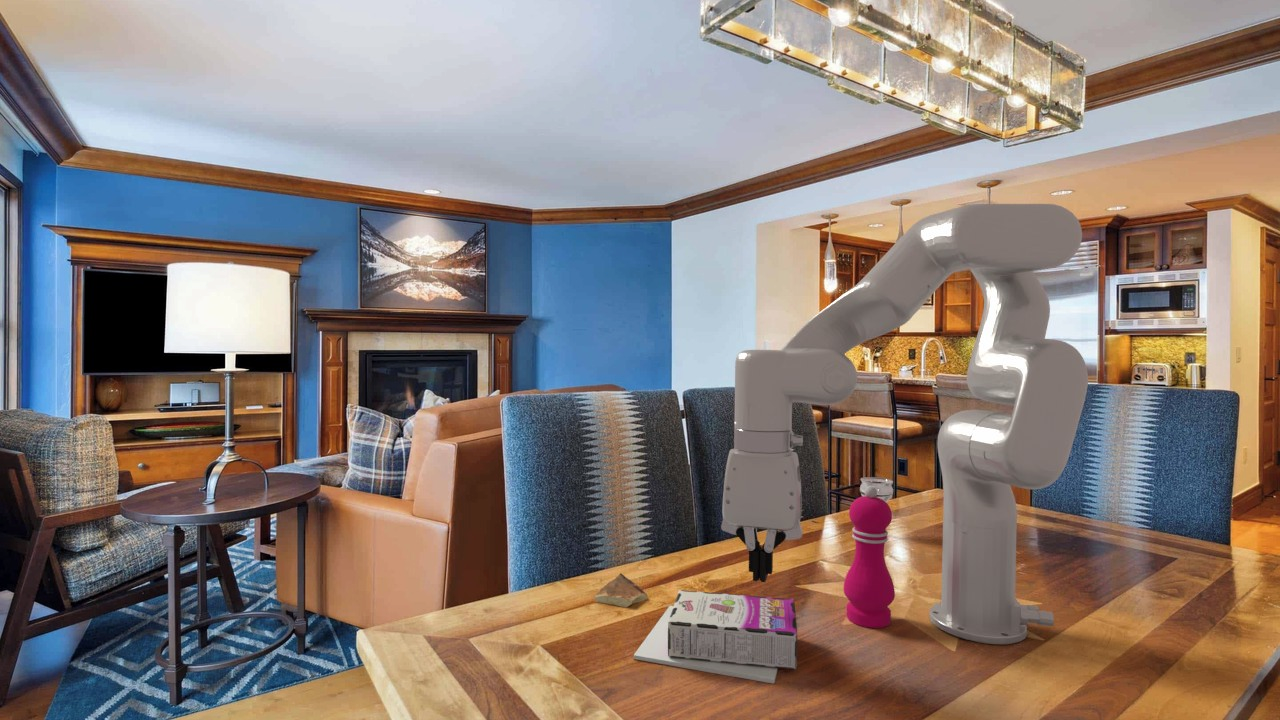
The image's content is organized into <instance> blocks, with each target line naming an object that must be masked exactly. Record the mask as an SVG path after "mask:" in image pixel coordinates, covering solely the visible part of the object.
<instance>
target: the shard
mask: <svg viewBox="0 0 1280 720" xmlns="http://www.w3.org/2000/svg"><path fill="white" fill-rule="evenodd" d="M594 595H595V596H594V602H595V603H600V604H606V603H607V604H606V605H614V606H619V607H623V608H628V607H629V606H630V605H633V604H635V603H636V604H637V603H639V602H643V601H647V599H648V594H647V593H646V592H645V591H644V590H643V589H642V588H640V587H639V586H638V585H637V584H636V583H635V582H633V581H632V580H630V579H629V578H627V577H626V576H625V574H623V573H622V572H621V573H619V574H618V575H617V576H615V578H614V579H612V580H610V581H609V582H608V583H607V584H605V585H604V586H603V587H602V588H600V589H599V590H598V591H597V593H596V594H594Z"/></svg>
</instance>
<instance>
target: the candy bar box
mask: <svg viewBox="0 0 1280 720" xmlns="http://www.w3.org/2000/svg"><path fill="white" fill-rule="evenodd" d="M673 606H674V607H673V610H672V612H671V615H670V618H669V621H668V657H677V658H687V659H696V660H707V661H717V662H729V663H737V664H749V665H758V666H767V667H777V668H778V669H789V670H797V665H798V624H797V615H796V605H795V599H794V598H783V597H782V598H781V597H771V596H759V595H758V596H755V595H746V594H744V595H743V594H733V593H732V594H731V593H722V592H721V593H719V592H709V591H708V592H707V591H706V592H705V591H697V590H695V591H694V590H685V589H679V590H678V592H677V596H676V598H675V602H674V604H673Z"/></svg>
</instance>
